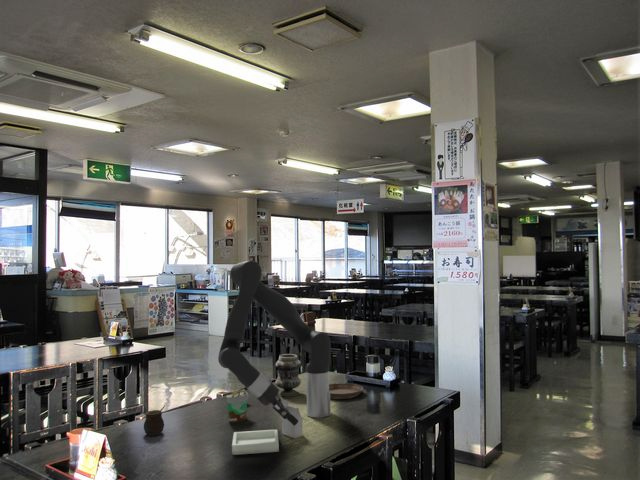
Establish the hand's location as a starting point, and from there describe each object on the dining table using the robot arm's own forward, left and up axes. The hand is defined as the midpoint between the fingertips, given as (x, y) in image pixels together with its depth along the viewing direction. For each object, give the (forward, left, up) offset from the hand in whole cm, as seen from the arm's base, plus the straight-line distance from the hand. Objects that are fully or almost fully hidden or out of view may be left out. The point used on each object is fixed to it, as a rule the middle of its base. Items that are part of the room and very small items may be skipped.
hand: (295, 419), depth 182 cm
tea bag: (+1, 0, -5) cm, 6 cm away
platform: (+22, -43, -6) cm, 49 cm away
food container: (+20, -22, -5) cm, 30 cm away
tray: (+14, +9, -5) cm, 18 cm away
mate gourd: (+51, -11, -5) cm, 53 cm away
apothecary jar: (-1, -57, -5) cm, 57 cm away
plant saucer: (-25, -51, -6) cm, 57 cm away
